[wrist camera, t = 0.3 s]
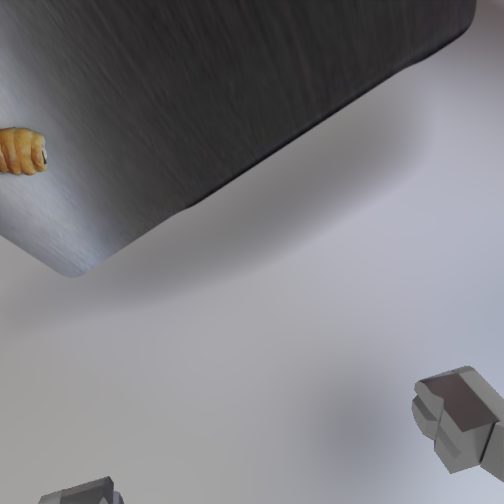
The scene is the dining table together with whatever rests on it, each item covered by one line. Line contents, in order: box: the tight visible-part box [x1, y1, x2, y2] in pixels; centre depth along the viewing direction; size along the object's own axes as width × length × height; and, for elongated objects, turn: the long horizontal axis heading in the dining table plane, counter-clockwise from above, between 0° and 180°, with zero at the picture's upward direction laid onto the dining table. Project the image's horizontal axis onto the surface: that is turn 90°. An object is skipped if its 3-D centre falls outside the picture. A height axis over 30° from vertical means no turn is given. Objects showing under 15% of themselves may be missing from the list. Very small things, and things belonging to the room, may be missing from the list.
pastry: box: [0, 127, 48, 175], centre depth 55 cm, size 9×7×4 cm
